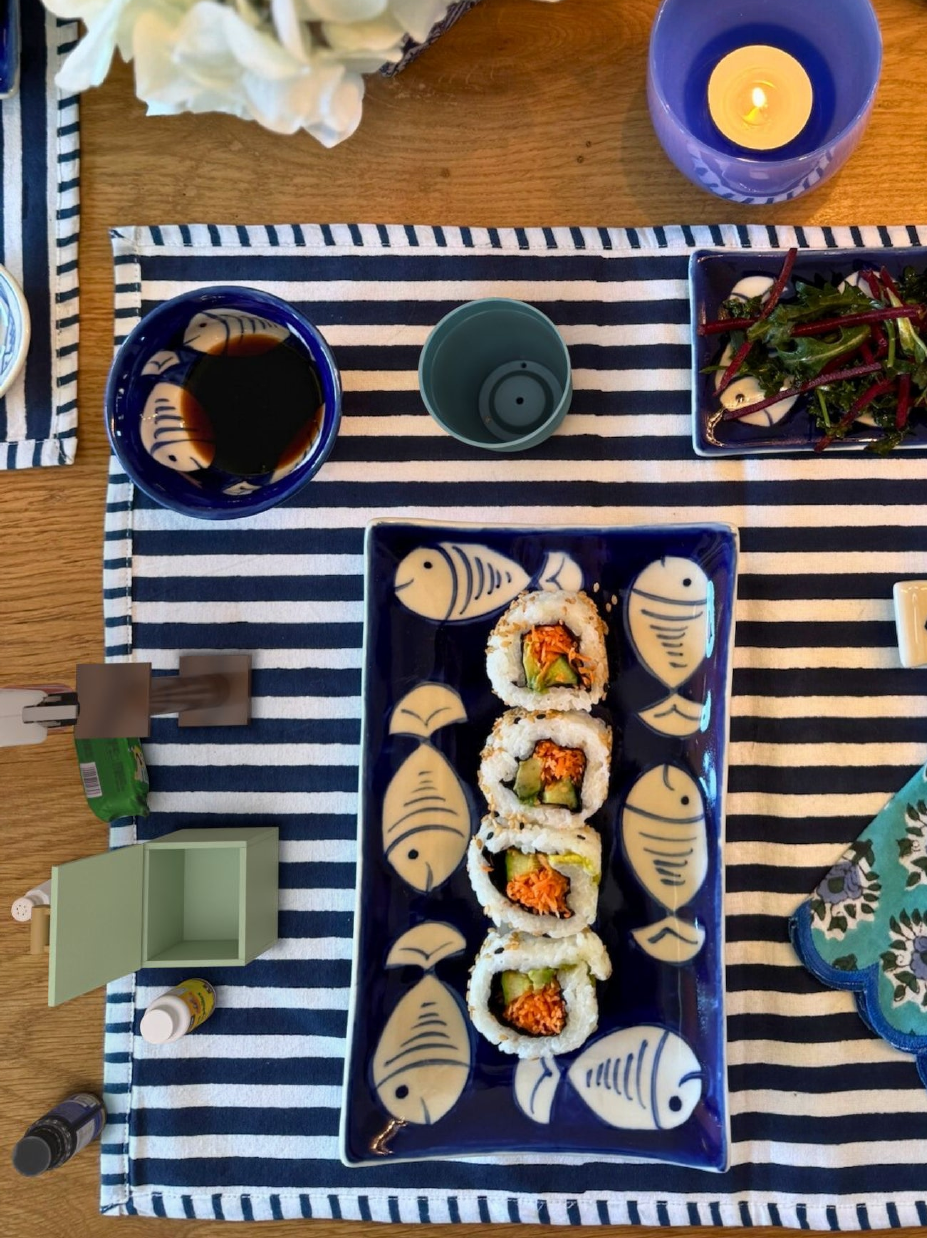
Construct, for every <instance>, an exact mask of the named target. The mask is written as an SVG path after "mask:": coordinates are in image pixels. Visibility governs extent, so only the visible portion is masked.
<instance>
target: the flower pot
mask: <svg viewBox="0 0 927 1238" xmlns="http://www.w3.org/2000/svg"><path fill="white" fill-rule="evenodd" d="M524 364H525V367H523V365H524ZM417 378H418V381H417V382H418V386H419V392H420V396H421V399H422V402H423V404H424V406H425V408H426V410H427V412H428V413H429V415H430V416H431V418H432V419H433V421H434V422H435V423H436V424H437V425H438V426H439V427H440V428H441V429H442V430H443V431H445V432H446V433H447V434H448V435H450V436H451V437H453V438H454V439H457V440H458V441H460V442H463V443H465V444H468V445H469V446H473V447H478V448H483V449H486V450H490V451H495V452H505V453H506V452H507V453H508V452H509V453H510V452H520V451H524V450H528V449H531V448H533V447H535V446H537V445H539V444H541V443H543V442H544V441H546V440H547V439H549V438H550V437H551V436H552V435H553V434H554V433H555V432H556V431H557V430H558V429H559V427H561V425H562V423H563V421H564V420H565V418H566V416H567V415H568V412H569V411H570V410H569V409H570V407H571V403H572V398H573V387H574V386H573V383H574V382H573V374H572V365H571V356H570V353H569V350H568V346H567V344H566V341H565V339H564V337H563V335H562V333H561V332H560V330H559V328H558V327H557V326H556V324H555V323H554V322H553V321H552V320H551V319H550V318H549V317H548V316H547V315H546V314H544V313H543V312H542V311H541V310H539V309H538V308H536V307H534V306H533V305H531V304H528V303H526V302H523V301H521V300H517V299H515V298H509V297H502V296H501V297H499V296H495V297H491V296H490V297H484V298H479V299H474V300H472V301H469V302H466V303H464V304H462V305H460V306H458V307H456V308H454V309H453V310H451V311H450V312H449V313H447V314H446V315H445V316H443V318H441V319H440V321H438V322H437V323H436V325H435V326H434V327H433V329H432V330H431V331H430V333H429V335H428V336H427V338H426V340H425V342H424V345H423V347H422V350H421V352H420V356H419V360H418V368H417ZM518 399H522V400H523V402H522V403H518V402H517V400H518ZM487 418H489V419H490V420H489V421H486V419H487Z"/></svg>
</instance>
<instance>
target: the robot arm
mask: <svg viewBox="0 0 927 1238" xmlns="http://www.w3.org/2000/svg"><path fill="white" fill-rule="evenodd" d="M40 703H45V706H43V707H40ZM79 714H80V703H79V701H78V693H77V692H76V691H75V692H66V693H51V694H48V696H47V694H46V693H45V692H43V691H40V690H24V689H2V687H0V748H6V747H17V746H27V745H36V744H42V743H43V742H45V741H46V740H47V737H48V735H47V729H46V728H45V727H47V728H57V727H65V726H71V727H74V725H76V724H77V717H78V716H79ZM41 720H45V721H41Z"/></svg>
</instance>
